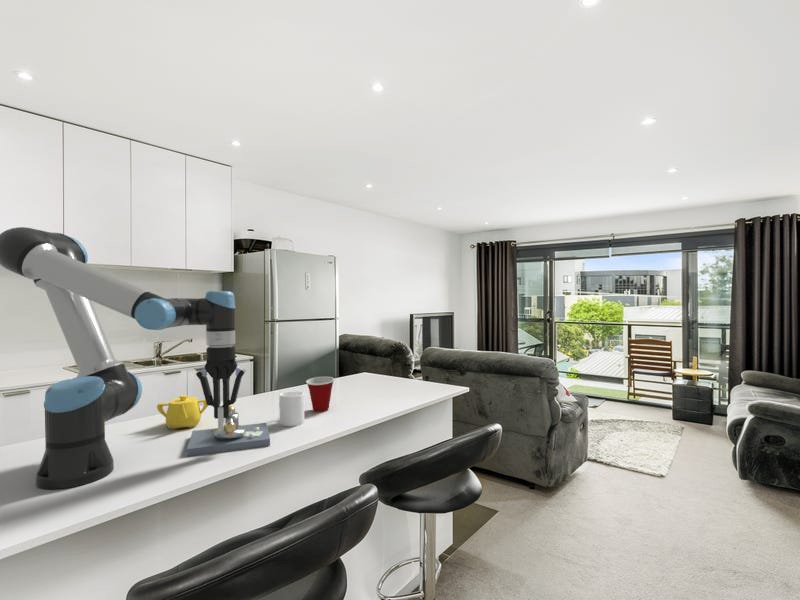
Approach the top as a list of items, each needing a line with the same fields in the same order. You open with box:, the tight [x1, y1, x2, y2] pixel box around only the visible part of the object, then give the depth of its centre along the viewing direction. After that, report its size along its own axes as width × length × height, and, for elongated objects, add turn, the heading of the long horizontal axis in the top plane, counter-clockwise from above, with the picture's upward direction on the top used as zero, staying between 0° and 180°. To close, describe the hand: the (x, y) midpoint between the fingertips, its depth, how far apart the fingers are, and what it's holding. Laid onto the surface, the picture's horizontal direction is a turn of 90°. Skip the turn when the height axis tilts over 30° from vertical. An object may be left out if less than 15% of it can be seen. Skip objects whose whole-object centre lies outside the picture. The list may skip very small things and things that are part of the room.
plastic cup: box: [305, 376, 335, 413], centre depth 163 cm, size 11×11×12 cm
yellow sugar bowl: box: [156, 394, 208, 430], centre depth 145 cm, size 14×13×10 cm
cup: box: [278, 390, 305, 427], centre depth 148 cm, size 8×12×10 cm
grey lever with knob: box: [214, 405, 246, 440], centre depth 128 cm, size 21×9×6 cm, turn 22°
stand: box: [186, 422, 271, 457], centre depth 129 cm, size 22×17×3 cm
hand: (221, 429), depth 119 cm, fingers closed
